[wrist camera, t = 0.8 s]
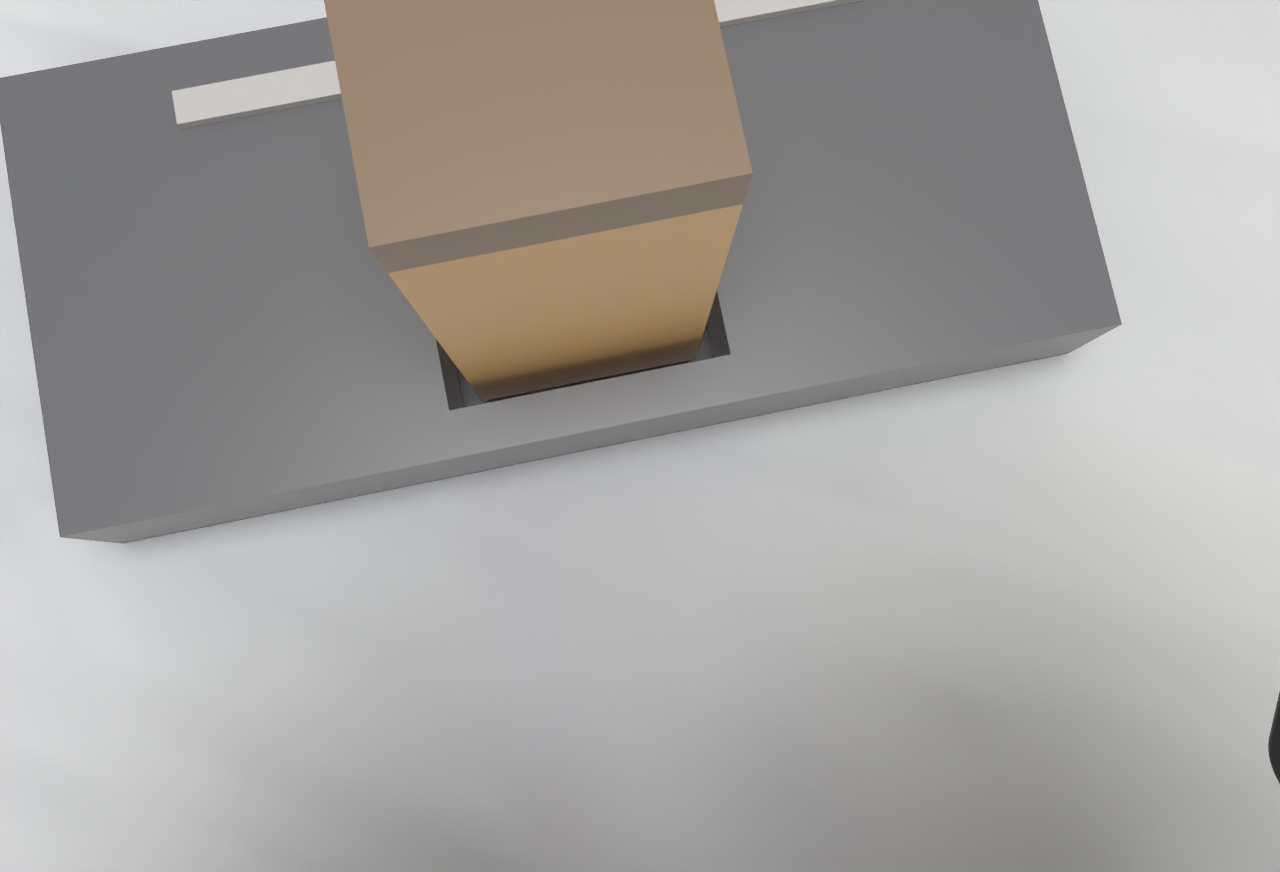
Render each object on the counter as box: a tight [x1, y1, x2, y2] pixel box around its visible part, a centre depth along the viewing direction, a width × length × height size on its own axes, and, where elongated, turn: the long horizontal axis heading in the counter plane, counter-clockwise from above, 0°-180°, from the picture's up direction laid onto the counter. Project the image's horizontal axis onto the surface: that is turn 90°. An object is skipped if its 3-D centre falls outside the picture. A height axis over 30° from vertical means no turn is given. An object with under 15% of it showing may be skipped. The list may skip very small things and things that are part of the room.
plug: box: [324, 0, 753, 401], centre depth 18 cm, size 4×4×10 cm
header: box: [0, 0, 1121, 543], centre depth 22 cm, size 8×18×3 cm, turn 102°
